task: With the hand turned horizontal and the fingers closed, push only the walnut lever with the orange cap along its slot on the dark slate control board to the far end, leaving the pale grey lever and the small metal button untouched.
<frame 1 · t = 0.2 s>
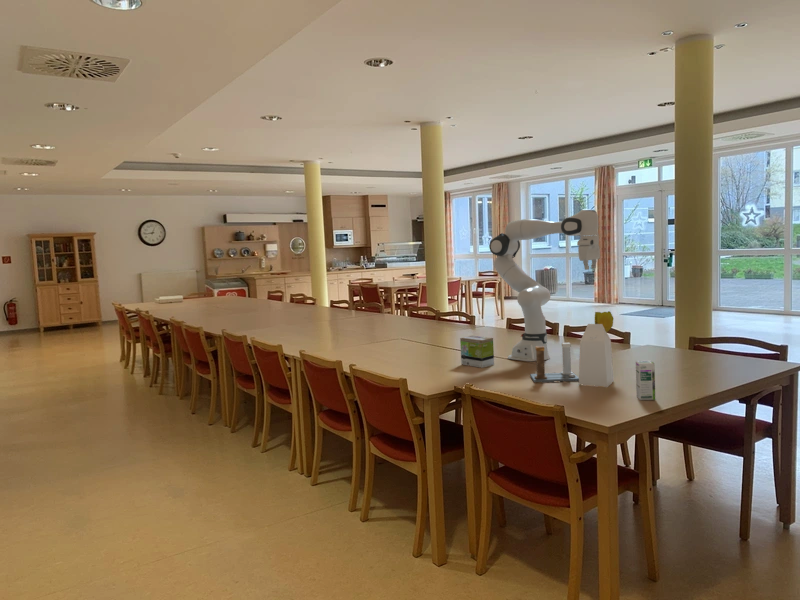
hand: (590, 269, 295), 48 cm above the table, tool pointing down, fingers open, 8 cm apart
grey lever: (566, 358, 270), point 9 cm above the table, slide at 0.0 cm
tea box: (477, 365, 309), on the table
walnut lever: (540, 362, 265), point 9 cm above the table, slide at 0.0 cm
syrup box: (645, 398, 227), on the table
flower: (605, 376, 268), on the table
milk: (596, 383, 256), on the table
control board: (554, 378, 268), on the table
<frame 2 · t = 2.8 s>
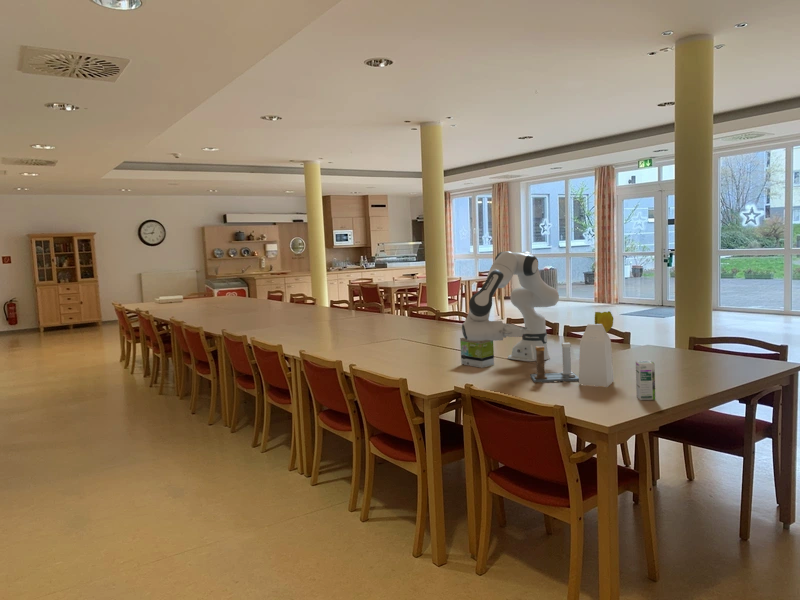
hand: (529, 330, 264), 23 cm above the table, tool horizontal, fingers open, 8 cm apart
nothing on the table moved.
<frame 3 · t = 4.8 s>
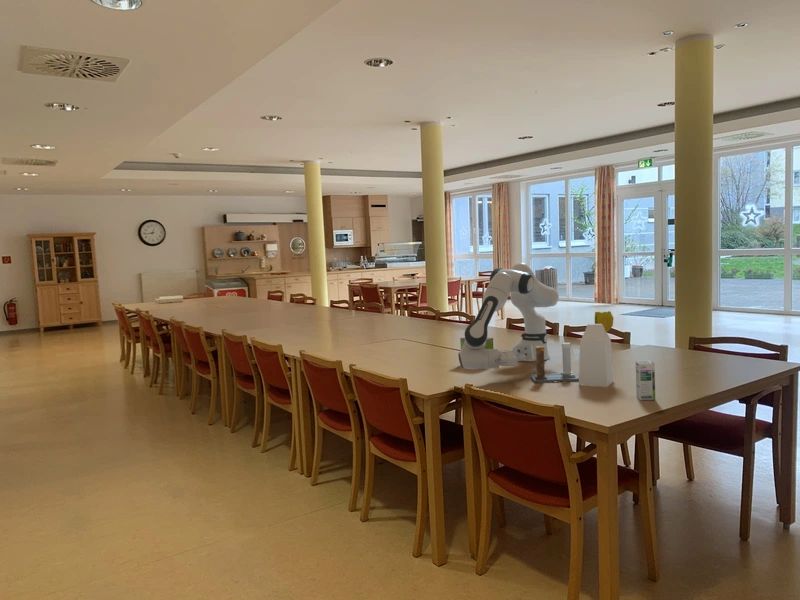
hand: (525, 357, 265), 11 cm above the table, tool horizontal, fingers closed
nothing on the table moved.
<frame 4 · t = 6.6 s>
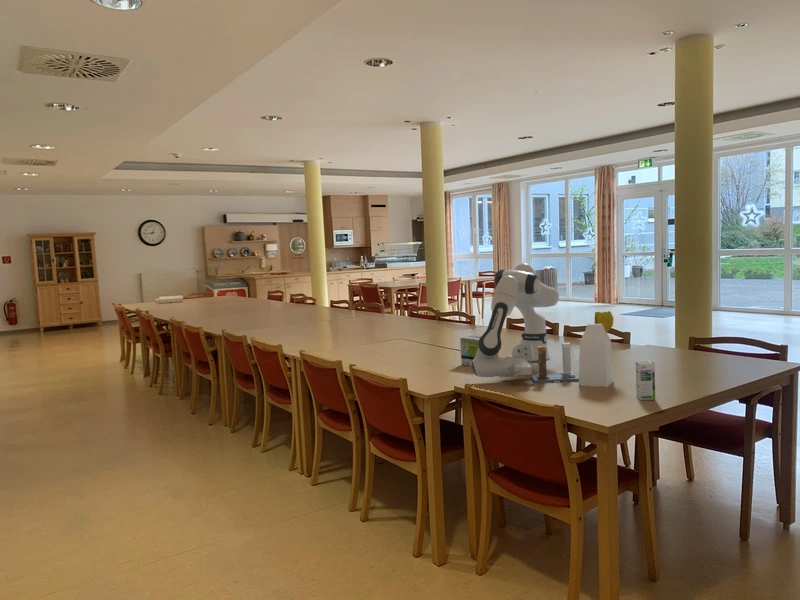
hand: (538, 365, 265), 7 cm above the table, tool horizontal, fingers closed, pressing on walnut lever
walnut lever: (542, 362, 265), point 9 cm above the table, slide at 0.9 cm, touching gripper
everything else where it was.
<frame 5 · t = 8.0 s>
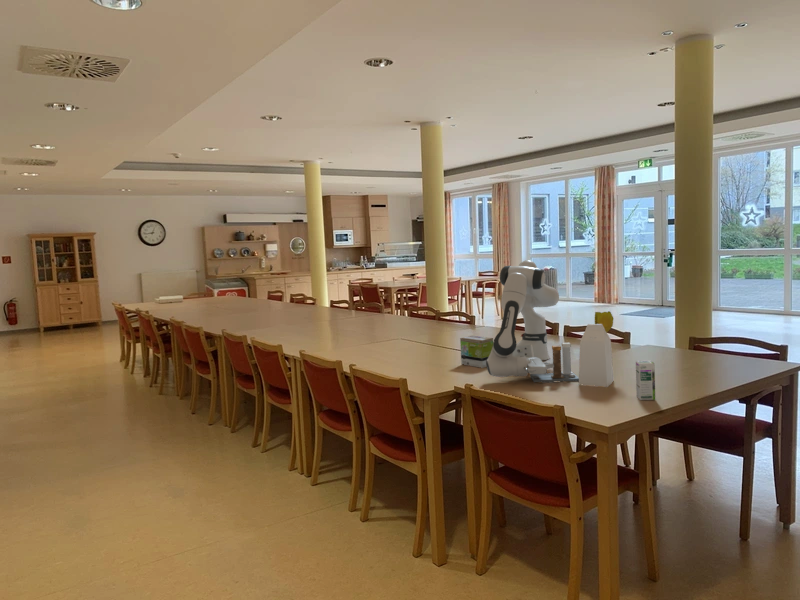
hand: (553, 365, 265), 7 cm above the table, tool horizontal, fingers closed, pressing on walnut lever
walnut lever: (556, 361, 264), point 9 cm above the table, slide at 7.4 cm, touching gripper
everything else where it was.
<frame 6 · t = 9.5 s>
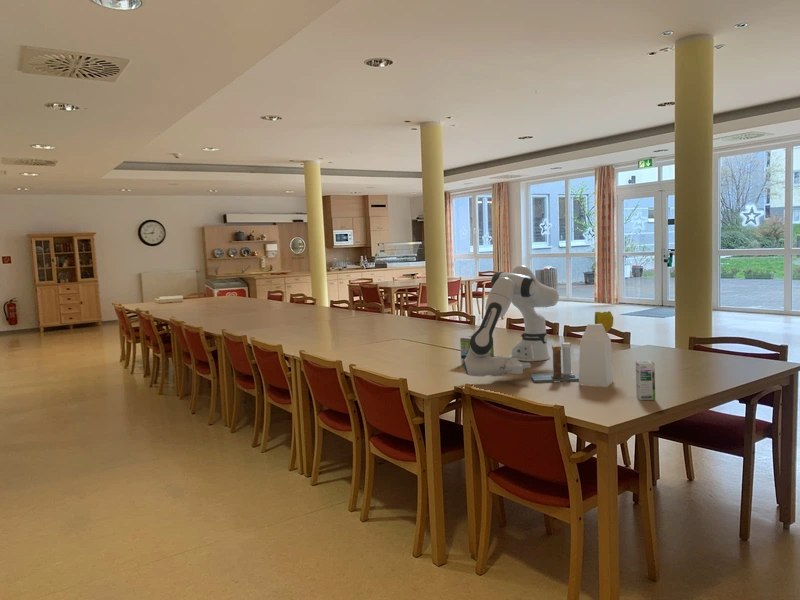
hand: (530, 365, 265), 7 cm above the table, tool horizontal, fingers closed
walnut lever: (557, 361, 264), point 9 cm above the table, slide at 7.4 cm
everything else where it was.
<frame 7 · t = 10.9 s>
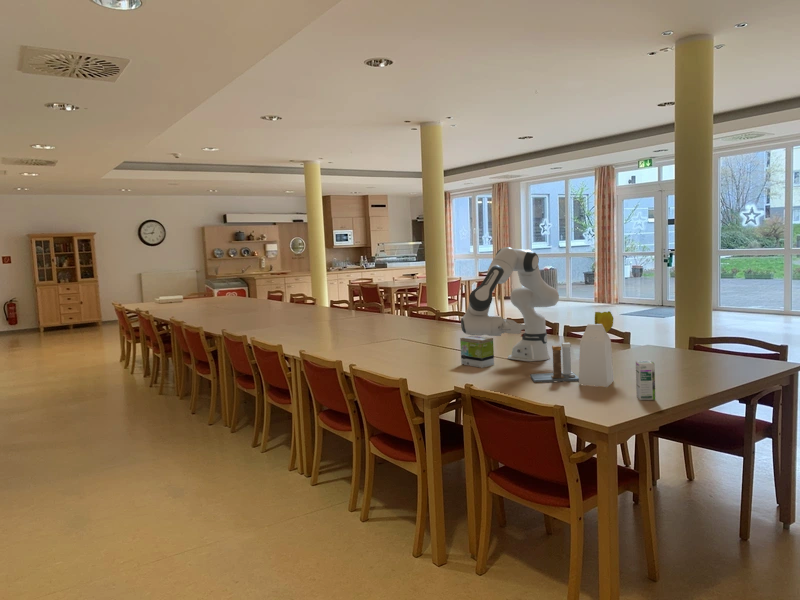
hand: (527, 326, 265), 25 cm above the table, tool horizontal, fingers closed
nothing on the table moved.
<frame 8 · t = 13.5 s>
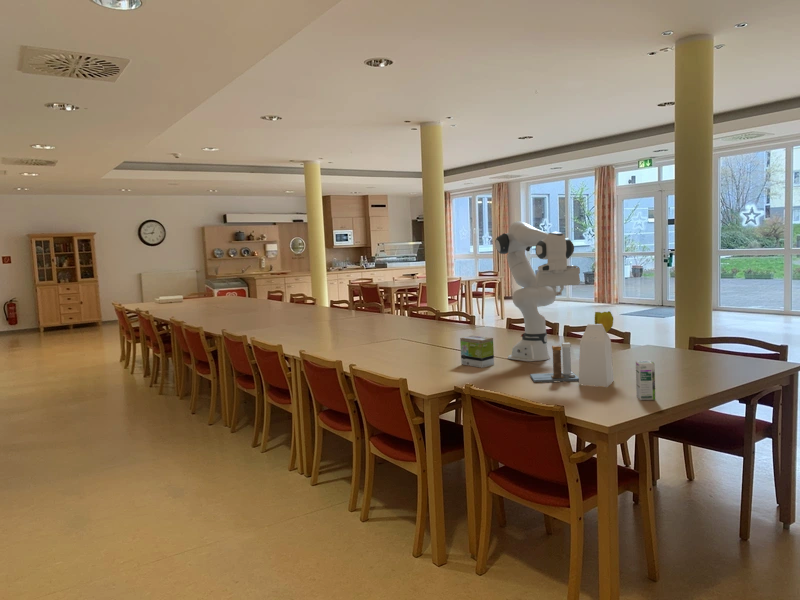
hand: (558, 295, 277), 37 cm above the table, tool pointing down, fingers closed
nothing on the table moved.
at the end: walnut lever slide at 7.4 cm; grey lever slide at 0.0 cm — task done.
